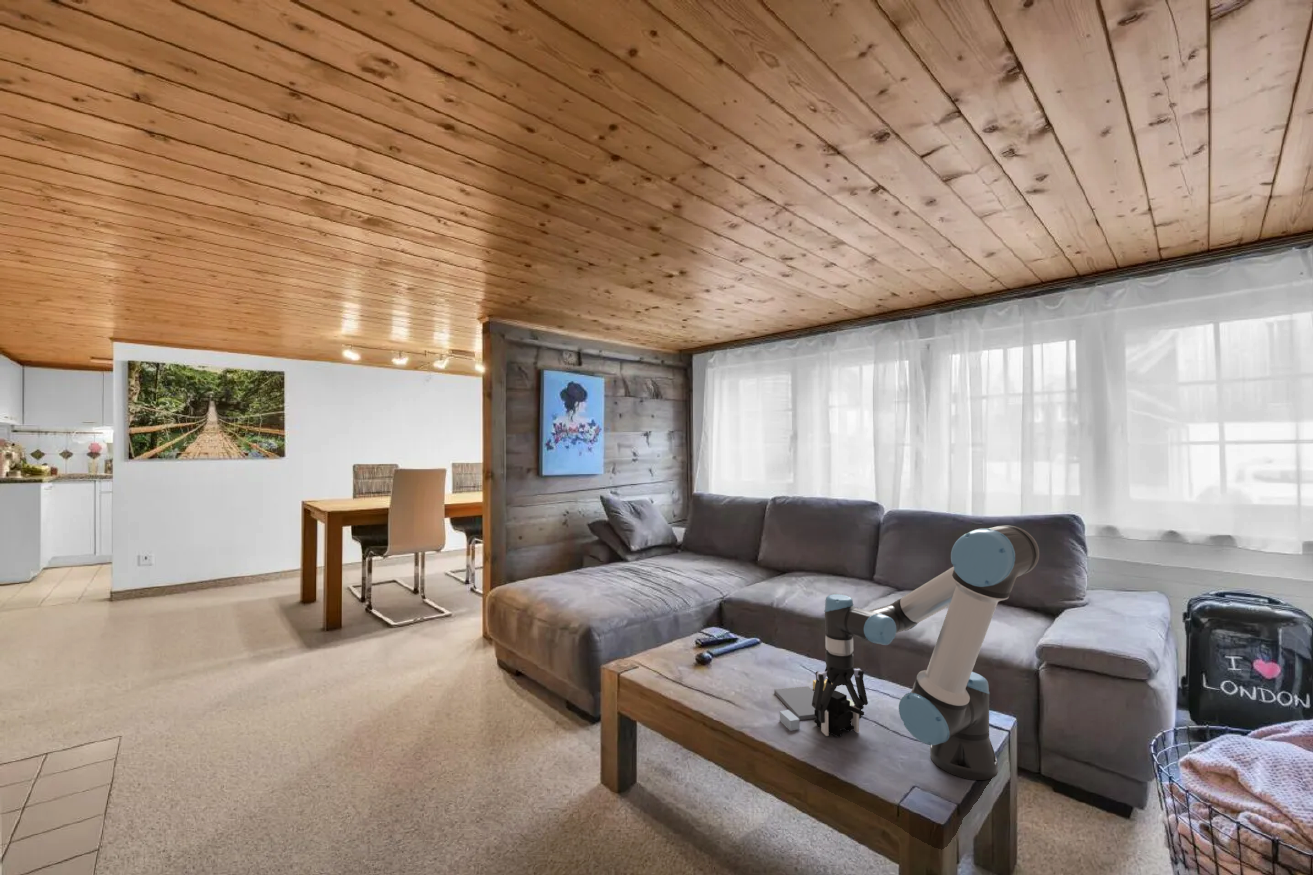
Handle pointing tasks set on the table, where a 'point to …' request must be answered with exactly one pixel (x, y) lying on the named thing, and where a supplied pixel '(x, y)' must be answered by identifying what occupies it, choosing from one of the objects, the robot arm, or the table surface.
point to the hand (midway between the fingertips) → (840, 731)
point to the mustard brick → (815, 683)
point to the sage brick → (851, 702)
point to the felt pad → (798, 701)
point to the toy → (838, 714)
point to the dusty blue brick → (789, 720)
